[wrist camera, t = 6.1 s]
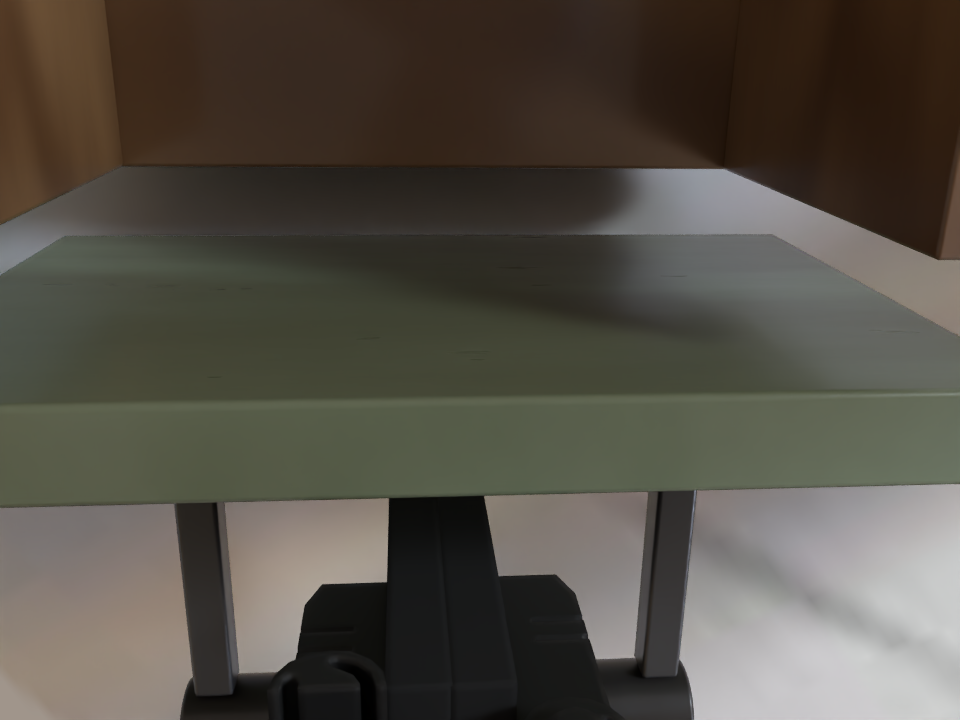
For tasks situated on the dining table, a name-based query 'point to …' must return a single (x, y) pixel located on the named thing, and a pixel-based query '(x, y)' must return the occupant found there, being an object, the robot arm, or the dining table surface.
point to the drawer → (473, 273)
